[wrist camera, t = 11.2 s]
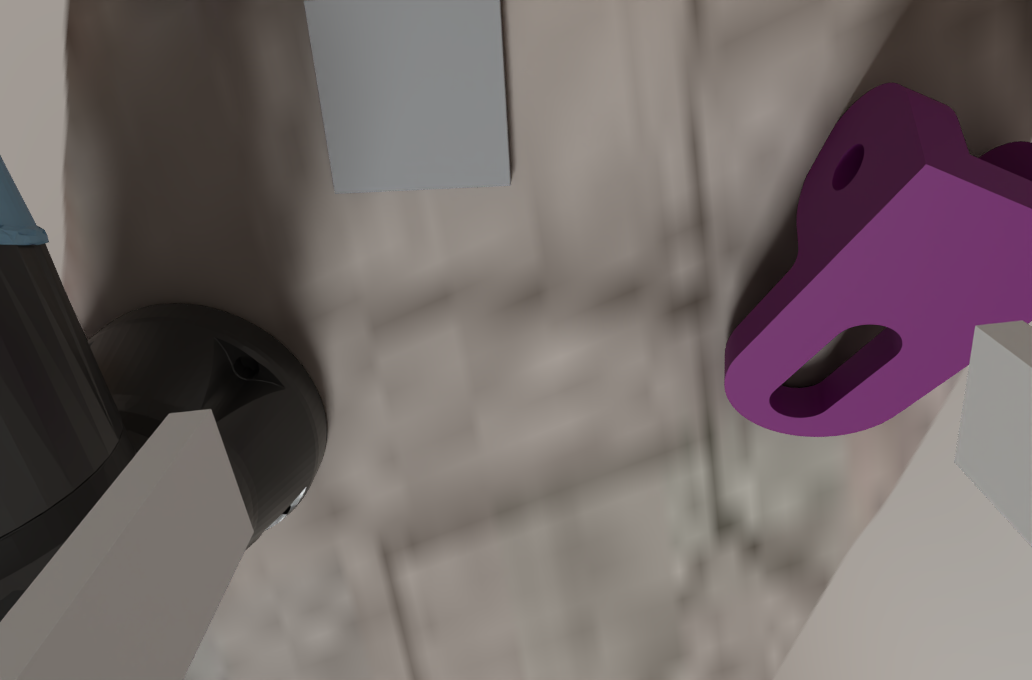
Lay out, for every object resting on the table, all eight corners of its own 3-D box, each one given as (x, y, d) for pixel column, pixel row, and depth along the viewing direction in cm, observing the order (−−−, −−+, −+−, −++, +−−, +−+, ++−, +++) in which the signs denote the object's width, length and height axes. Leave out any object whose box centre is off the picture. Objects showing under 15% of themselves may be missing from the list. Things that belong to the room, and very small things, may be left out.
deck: (339, 189, 39) (335, 193, 38) (308, 0, 35) (303, 0, 34) (510, 181, 38) (510, 185, 38) (499, -12, 35) (498, -12, 34)
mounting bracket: (827, 344, 48) (1072, 128, 35) (838, 454, 43) (1133, 251, 29) (696, 293, 47) (896, 48, 33) (691, 401, 42) (926, 163, 28)
